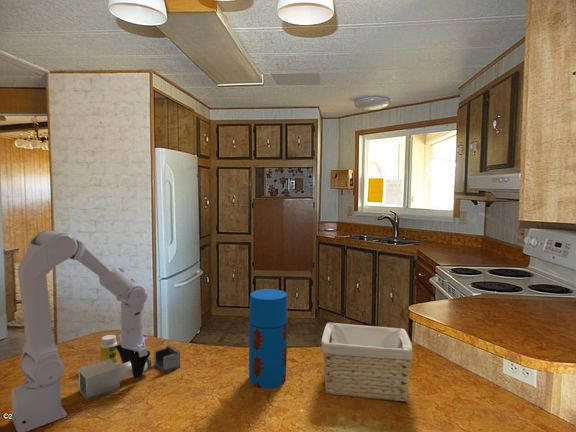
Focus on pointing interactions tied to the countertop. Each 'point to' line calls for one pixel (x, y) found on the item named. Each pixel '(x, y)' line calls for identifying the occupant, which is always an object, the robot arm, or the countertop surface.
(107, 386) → the sleeve
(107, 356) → the supplement bottle
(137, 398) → the countertop surface
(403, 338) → the storage basket
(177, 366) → the socket
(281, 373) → the thermos
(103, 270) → the robot arm
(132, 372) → the tube
